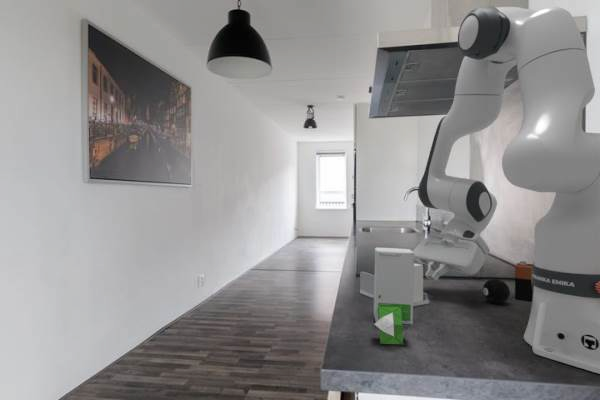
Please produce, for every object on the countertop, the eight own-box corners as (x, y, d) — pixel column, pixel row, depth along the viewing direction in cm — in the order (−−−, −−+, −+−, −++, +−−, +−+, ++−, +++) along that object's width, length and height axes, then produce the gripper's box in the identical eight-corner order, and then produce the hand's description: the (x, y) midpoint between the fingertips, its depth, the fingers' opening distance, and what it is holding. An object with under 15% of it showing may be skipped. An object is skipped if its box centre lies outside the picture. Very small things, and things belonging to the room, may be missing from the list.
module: (422, 300, 93) (423, 262, 93) (404, 303, 90) (404, 264, 90) (411, 296, 96) (411, 260, 96) (393, 299, 94) (393, 262, 94)
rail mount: (429, 303, 94) (429, 280, 94) (398, 308, 89) (398, 284, 89) (388, 289, 108) (388, 268, 108) (360, 293, 104) (360, 271, 104)
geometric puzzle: (369, 320, 75) (372, 295, 70) (404, 321, 74) (408, 296, 69) (372, 353, 69) (375, 329, 64) (409, 354, 69) (415, 330, 64)
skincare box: (374, 322, 80) (374, 251, 79) (373, 313, 86) (373, 246, 86) (414, 324, 78) (415, 251, 78) (410, 314, 85) (410, 247, 85)
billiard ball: (478, 299, 97) (478, 277, 97) (499, 299, 98) (499, 276, 98) (492, 306, 91) (492, 282, 91) (514, 305, 92) (515, 281, 92)
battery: (545, 303, 94) (545, 264, 94) (514, 299, 98) (514, 261, 98) (546, 299, 97) (546, 262, 97) (516, 295, 101) (516, 259, 101)
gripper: (423, 228, 109) (397, 263, 105) (484, 234, 91) (455, 278, 87) (434, 242, 111) (409, 277, 107) (496, 251, 93) (468, 295, 89)
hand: (430, 278), depth 97 cm, fingers closed
